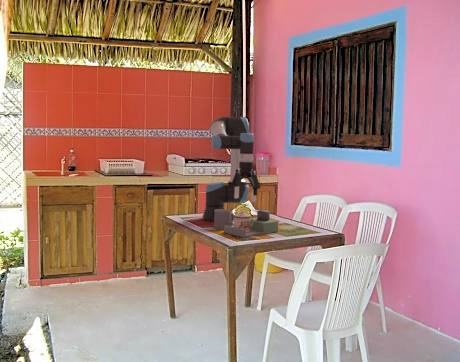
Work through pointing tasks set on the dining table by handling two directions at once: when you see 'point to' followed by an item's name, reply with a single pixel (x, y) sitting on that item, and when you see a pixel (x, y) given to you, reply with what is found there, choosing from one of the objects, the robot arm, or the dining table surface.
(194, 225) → the dining table surface
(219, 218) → the coffee mug
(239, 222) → the teacup with lid
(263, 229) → the grey green blocky piece
